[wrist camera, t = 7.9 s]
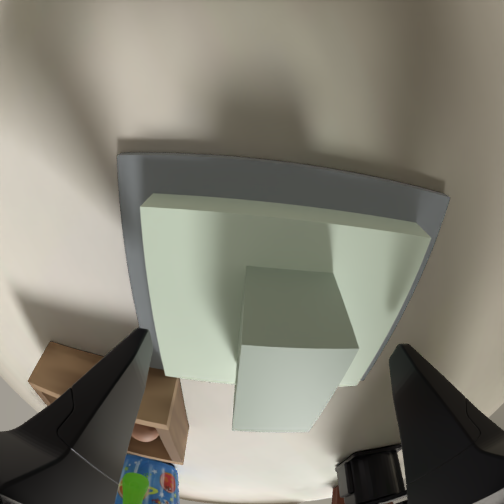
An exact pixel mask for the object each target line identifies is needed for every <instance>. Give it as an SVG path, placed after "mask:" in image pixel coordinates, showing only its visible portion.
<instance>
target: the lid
mask: <svg viewBox="0 0 504 504" xmlns="http://www.w3.org/2000/svg"><path fill="white" fill-rule="evenodd" d="M140 214H141V227H142V238H143V248H144V257H145V265H146V273H147V280H148V287H149V294H150V300H151V307H152V313H153V318H154V324H155V329H156V334H157V340H158V344H159V349H160V354H161V359H162V363H163V368H164V372H165V376H170V377H176V378H183V379H190V380H197V381H205V382H214V383H224V384H235V393H234V408H233V423H232V430H233V431H248V432H309V431H310V429H311V428H312V426H313V425H314V424H315V422H316V421H317V419H318V418H319V416H320V415H321V413H322V411H323V410H324V408H325V407H326V405H327V404H328V402H329V401H330V399H331V397H332V396H333V394H334V392H335V391H336V389H337V387H342V386H357V384H358V383H359V381H360V380H361V378H362V376H363V375H364V373H365V372H366V370H367V369H368V367H369V365H370V364H371V362H372V360H373V359H374V357H375V355H376V354H377V352H378V350H379V349H380V347H381V345H382V343H383V342H384V340H385V338H386V336H387V334H388V332H389V331H390V329H391V327H392V325H393V323H394V321H395V319H396V317H397V315H398V313H399V311H400V309H401V307H402V305H403V303H404V301H405V299H406V297H407V295H408V293H409V291H410V289H411V286H412V284H413V282H414V280H415V277H416V275H417V273H418V271H419V268H420V266H421V263H422V261H423V259H424V256H425V254H426V251H427V248H428V246H429V243H430V241H431V237H430V236H429V235H428V234H427V233H426V232H425V231H424V230H423V229H422V228H421V227H420V226H419V225H418V224H417V223H415V222H409V221H403V220H398V219H392V218H386V217H379V216H373V215H366V214H360V213H353V212H346V211H339V210H332V209H324V208H316V207H308V206H300V205H291V204H282V203H273V202H264V201H253V200H243V199H231V198H219V197H206V196H192V195H176V194H158V193H153V194H152V195H151V196H150V197H149V198H148V199H147V200H146V201H145V202H144V203H143V204H142V205H141V206H140Z"/></svg>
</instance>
